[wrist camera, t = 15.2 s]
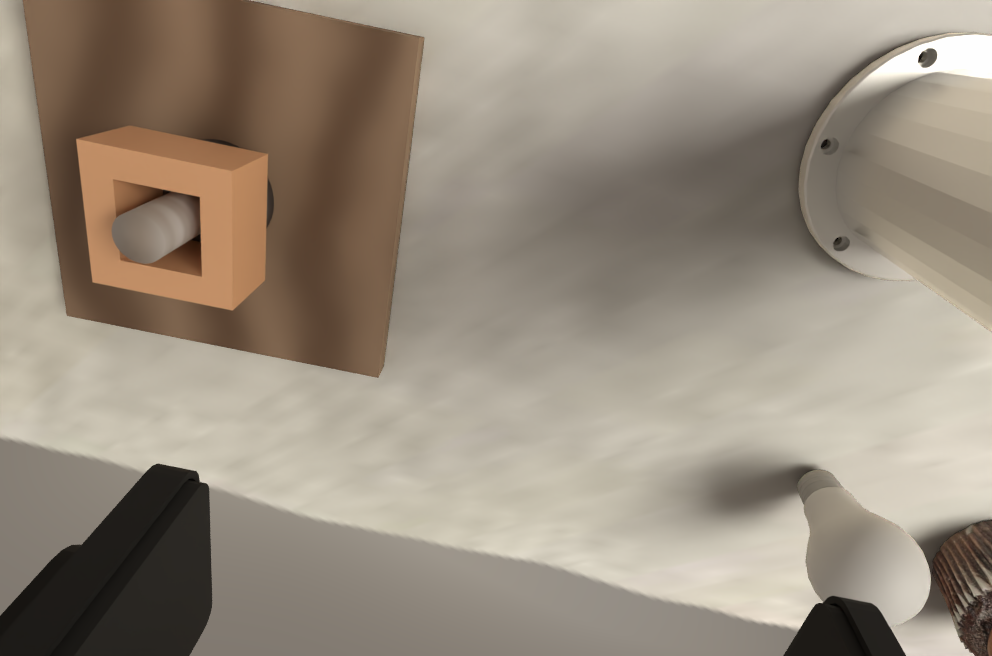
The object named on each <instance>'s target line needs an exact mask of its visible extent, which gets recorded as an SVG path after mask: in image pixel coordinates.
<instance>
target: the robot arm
mask: <svg viewBox="0 0 992 656" xmlns="http://www.w3.org/2000/svg"><path fill="white" fill-rule="evenodd" d="M921 52H922V59H921V60H920V61H919V62H918V57H919V55H920V54H921ZM825 139H827V145H826V146H825V147H823V148H821V144H822V143H823V141H824V140H825ZM798 192H799V199H800V205H801V212H802V214H803V217H804V219H805V222H806V225H807V227H808V230H809V231H810V233H811V234H812V236H813V237H814V239H815V240H816V241H817V243H818V244H819V246H820V247H822V248H823V249H824V250H825V251H826V252H827V253H828V254H829V255H830V256H831V257H832V258H834V259H835V260H837V261H838V262H839V263H841V264H842V265H844V266H845V267H846V268H848V269H850V270H853V271H855V272H858V273H860V274H862V275H865V276H868V277H873V278H878V279H882V280H892V281H912V280H918V281H919V282H921V283H922V284H924V285H925V286H926V287H928V288H929V289H931V290H932V291H934V292H935V293H936V294H938V295H939V296H941V297H942V298H944V299H945V300H946V301H948V302H949V303H951V304H952V305H954V306H955V307H956V308H958V309H959V310H961V311H962V312H964V313H965V314H966V315H968V316H969V317H971V318H972V319H974V320H975V321H976V322H978V323H979V324H981V325H982V326H984V327H985V328H986V329H988V330H989V331H991V332H992V34H984V33H975V32H967V33H946V34H941V35H936V36H931V37H926V38H922V39H919V40H917V41H914V42H912V43H909V44H906V45H904V46H901V47H898V48H896V49H894V50H893V51H891V52H889V53H888V54H886V55H884V56H882V57H881V58H879V59H877V60H875V61H874V62H872V63H871V64H870V65H868V66H867V67H866V68H865V69H863V70H862V71H861V72H860V73H858V74H857V75H856V76H855V77H853V78H852V79H851V80H850V81H849V82H848V83H847V84H846V85H845V86H844V87H843V88H842V89H841V90H840V92H839V93H838V94H837V95H836V96H835V97H834V98H833V99H832V100H831V102H830V103H829V105H828V106H827V108H826V109H825V111H824V112H823V113H822V115H821V116H820V118H819V119H818V121H817V122H816V124H815V127H814V129H813V131H812V133H811V135H810V138H809V140H808V142H807V144H806V147H805V151H804V154H803V158H802V162H801V166H800V173H799V189H798ZM838 237H839V239H838V240H837V241H836V242H834V241H835V239H836V238H838ZM833 242H834V243H833ZM211 579H212V578H211V544H210V507H209V486H208V485H207V484H206V483H201V482H200V480H199V475H198V473H197V472H196V471H192V470H187V469H182V468H177V467H172V466H167V465H162V464H156V465H153V466H152V467H151V468H150V469H149V470H147V472H146V473H145V474H144V475H143V476H142V477H141V478H140V479H139V481H138V482H137V483H136V484H135V485H134V486H133V488H132V489H131V490H130V491H129V492H128V493H127V494H126V495H125V496H124V498H123V499H122V500H121V501H120V502H119V503H118V504H117V506H116V507H115V508H114V509H113V510H112V511H111V512H110V513H109V515H108V516H107V517H106V518H105V519H104V520H103V521H102V523H101V524H100V525H99V526H98V527H97V528H96V529H95V530H94V532H93V533H92V534H91V535H90V536H89V537H88V539H87V540H86V541H85V542H84V543H83V544H82V545H71V546H69V547H67V548H65V549H63V550H62V551H61V552H60V553H58V554H57V555H56V556H55V557H54V558H53V559H52V560H51V561H50V562H49V563H48V564H47V565H46V566H45V568H44V569H43V570H42V571H41V572H40V573H39V574H38V575H37V576H36V577H35V578H34V579H33V581H32V582H31V583H30V584H29V585H28V586H27V587H26V588H25V589H24V590H23V592H22V593H21V594H20V595H19V596H18V597H17V598H16V599H15V600H14V601H13V602H12V604H11V605H10V606H9V607H8V608H7V609H6V610H5V611H4V612H3V613H2V615H1V616H0V656H189V655H190V654H191V652H192V650H193V648H194V646H195V645H196V643H197V641H198V639H199V638H200V636H201V634H202V632H203V630H204V628H205V626H206V624H207V622H208V619H209V616H210V613H211V608H212V580H211ZM784 656H906V655H905V653H904V651H903V650H902V648H901V646H900V644H899V643H898V641H897V639H896V637H895V636H894V634H893V632H892V630H891V628H890V627H889V625H888V623H887V621H886V620H885V618H884V616H883V614H882V613H881V612H880V610H879V609H878V607H876V606H875V605H874V604H872V603H868V602H863V601H858V600H853V599H848V598H843V597H838V596H830V597H828V598H827V599H826V600H825V601H824V602H823V604H822V603H818V604H816V605H815V606H814V607H813V609H812V610H811V612H810V613H809V615H808V617H807V618H806V620H805V622H804V623H803V625H802V626H801V628H800V630H799V631H798V633H797V635H796V636H795V638H794V639H793V641H792V643H791V645H790V646H789V648H788V649H787V651H786V652H785V654H784Z"/></svg>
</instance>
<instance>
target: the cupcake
mask: <svg viewBox="0 0 992 656" xmlns="http://www.w3.org/2000/svg"><path fill="white" fill-rule="evenodd" d="M932 573H933V576H934V578H935V580H936V582H937V584H938V586H939V588H940V591H941V593H942V595H943V597H944V599H945V602H946V604H947V606H948V609H949V611H950V613H951V615H952V618H953V622H954V625H955V628H956V631H957V634H958V636H959V638H960V641H961V642H963V643H964V646H965V649H969V652H971V653H973V654H974V655H975V656H992V520H987V521H982V522H979V523H976V524H973V525H970V526H969V527H967V528H965V529H963V530H962V531H959V532H957V533H955V534H954V535H952V536H951V537H950V538H949V539H948V540H946V541H945V542H944V543H943V545H942V546H941V547H940V551H939V552H938V553H936V556H935V558H934V559H933V572H932Z"/></svg>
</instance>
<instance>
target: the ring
mask: <svg viewBox="0 0 992 656" xmlns="http://www.w3.org/2000/svg"><path fill="white" fill-rule="evenodd" d="M76 142H77V151H78V160H79V168H80V177H81V186H82V195H83V203H84V212H85V221H86V230H87V238H88V247H89V256H90V264H91V273H92V282H94V283H99V284H103V285H108V286H113V287H118V288H123V289H128V290H133V291H138V292H143V293H148V294H153V295H158V296H163V297H168V298H173V299H178V300H183V301H188V302H193V303H198V304H203V305H208V306H213V307H218V308H223V309H228V310H234V309H235V308H236V307H237V306H238V305H239V304H240V303H241V302H242V301H243V300H245V299H246V298H247V297H248V296H249V295H250V294H251V293H252V292H253V291H254V290H255V289H256V288H257V287H259V286H260V285H261V284H262V283H263V282H264V281H265V265H266V220H267V176H268V154H266V153H261V152H256V151H251V150H246V149H242V148H237V147H232V146H227V145H222V144H217V143H213V142H208V141H203V140H198V139H193V138H188V137H184V136H179V135H174V134H169V133H164V132H159V131H155V130H150V129H145V128H140V127H135V126H126V127H122V128H118V129H114V130H110V131H106V132H102V133H98V134H94V135H90V136H86V137H82V138H78V139H76ZM163 190H168V191H173V192H178V193H183V194H188V195H192V196H197V197H200V222H201V242H198V241H193V240H189V241H188V242H186V243H185V244H183V245H181V246H180V247H178V248H176V249H175V250H173V251H172V252H170V253H168V254H167V255H165V256H164V257H162V258H160V259H159V260H157V261H155V262H153V263H149V264H143V263H138V262H135V261H132V260H130V259H129V258H127V257H126V256H125V255H123V254H122V253H121V252H120V250H119V249H118V248H117V246H116V245H115V243H114V240H113V237H112V225H113V222H114V220H115V219H116V218H117V217H118V216H119V215H121V214H123V213H125V212H128V211H130V210H132V209H134V208H136V207H139V206H141V205H143V204H145V203H147V202H149V201H152V200H154V199H156V198H158V197H160V196H163Z"/></svg>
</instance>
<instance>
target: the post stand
mask: <svg viewBox="0 0 992 656" xmlns="http://www.w3.org/2000/svg"><path fill="white" fill-rule="evenodd" d="M23 5H24V12H25V20H26V27H27V34H28V41H29V48H30V55H31V63H32V70H33V77H34V84H35V91H36V98H37V106H38V113H39V120H40V127H41V134H42V141H43V149H44V156H45V163H46V170H47V177H48V184H49V192H50V199H51V206H52V213H53V220H54V227H55V235H56V242H57V249H58V256H59V263H60V270H61V278H62V285H63V292H64V299H65V306H66V313H67V316H71V317H76V318H81V319H86V320H91V321H96V322H101V323H106V324H111V325H116V326H121V327H126V328H131V329H137V330H142V331H147V332H152V333H157V334H162V335H167V336H172V337H177V338H182V339H187V340H192V341H197V342H202V343H207V344H212V345H217V346H222V347H227V348H232V349H237V350H242V351H247V352H252V353H257V354H262V355H267V356H272V357H277V358H282V359H287V360H292V361H297V362H302V363H307V364H312V365H317V366H322V367H327V368H332V369H337V370H342V371H347V372H352V373H357V374H362V375H367V376H372V377H377V378H378V377H379V375H380V373H381V371H382V369H383V367H384V360H385V352H386V344H387V336H388V328H389V320H390V312H391V304H392V295H393V287H394V279H395V271H396V263H397V255H398V247H399V239H400V231H401V223H402V215H403V207H404V199H405V191H406V183H407V175H408V166H409V158H410V150H411V142H412V134H413V126H414V118H415V110H416V102H417V94H418V86H419V78H420V70H421V62H422V54H423V45H424V37H420V36H415V35H410V34H405V33H401V32H396V31H391V30H387V29H382V28H377V27H372V26H368V25H363V24H358V23H353V22H349V21H344V20H339V19H334V18H330V17H325V16H320V15H315V14H311V13H306V12H301V11H297V10H292V9H287V8H282V7H278V6H273V5H268V4H263V3H259V2H254V1H249V0H23ZM126 126H135V127H140V128H145V129H150V130H155V131H159V132H164V133H169V134H174V135H179V136H184V137H188V138H193V139H198V140H203V141H208V142H213V143H217V144H222V145H227V146H232V147H237V148H242V149H246V150H251V151H256V152H261V153H266V154H268V176H267V220H266V265H265V281H264V282H263V283H262V284H261V285H260V286H259V287H257V288H256V289H255V290H254V291H253V292H252V293H251V294H250V295H249V296H248V297H247V298H246V299H245V300H243V301H242V302H241V303H240V304H239V305H238V306H237V307H236V308H235V309H234V310H228V309H223V308H218V307H213V306H208V305H203V304H198V303H193V302H188V301H183V300H178V299H173V298H168V297H163V296H158V295H153V294H148V293H143V292H138V291H133V290H128V289H123V288H118V287H113V286H108V285H103V284H99V283H94V282H92V273H91V264H90V256H89V247H88V238H87V230H86V221H85V212H84V203H83V195H82V186H81V177H80V168H79V160H78V151H77V142H76V139H78V138H82V137H86V136H90V135H94V134H98V133H102V132H106V131H110V130H114V129H118V128H122V127H126ZM112 237H113V240H114V243H115V245H116V246H117V248H118V249H119V250H120V252H121V253H122V254H123V255H125V256H126V257H127V258H129V259H130V260H132V261H135V262H138V263H143V264H149V263H153V262H155V261H157V260H159V259H160V258H162V257H164V256H165V255H167V254H168V253H170V252H172V251H173V250H175V249H176V248H178V247H180V246H181V245H183V244H185V243H186V242H188V241H189V240H193V241H198V242H201V222H200V197H197V196H192V195H188V194H183V193H178V192H173V191H168V190H163V196H160V197H158V198H156V199H154V200H152V201H149V202H147V203H145V204H143V205H141V206H139V207H136V208H134V209H132V210H130V211H128V212H125V213H123V214H121V215H119V216H118V217H117V218H116V219H115V220H114V222H113V225H112Z"/></svg>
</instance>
